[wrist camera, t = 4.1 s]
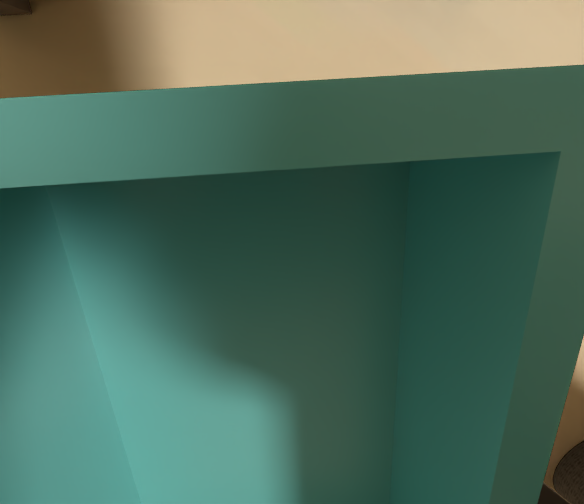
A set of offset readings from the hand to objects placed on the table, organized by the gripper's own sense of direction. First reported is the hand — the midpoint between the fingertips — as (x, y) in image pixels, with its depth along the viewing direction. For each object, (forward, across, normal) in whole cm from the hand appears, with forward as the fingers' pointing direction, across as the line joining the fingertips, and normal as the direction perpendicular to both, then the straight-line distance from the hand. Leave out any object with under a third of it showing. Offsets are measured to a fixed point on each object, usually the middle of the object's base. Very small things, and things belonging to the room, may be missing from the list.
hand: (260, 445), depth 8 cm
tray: (+1, 0, 0) cm, 1 cm away
